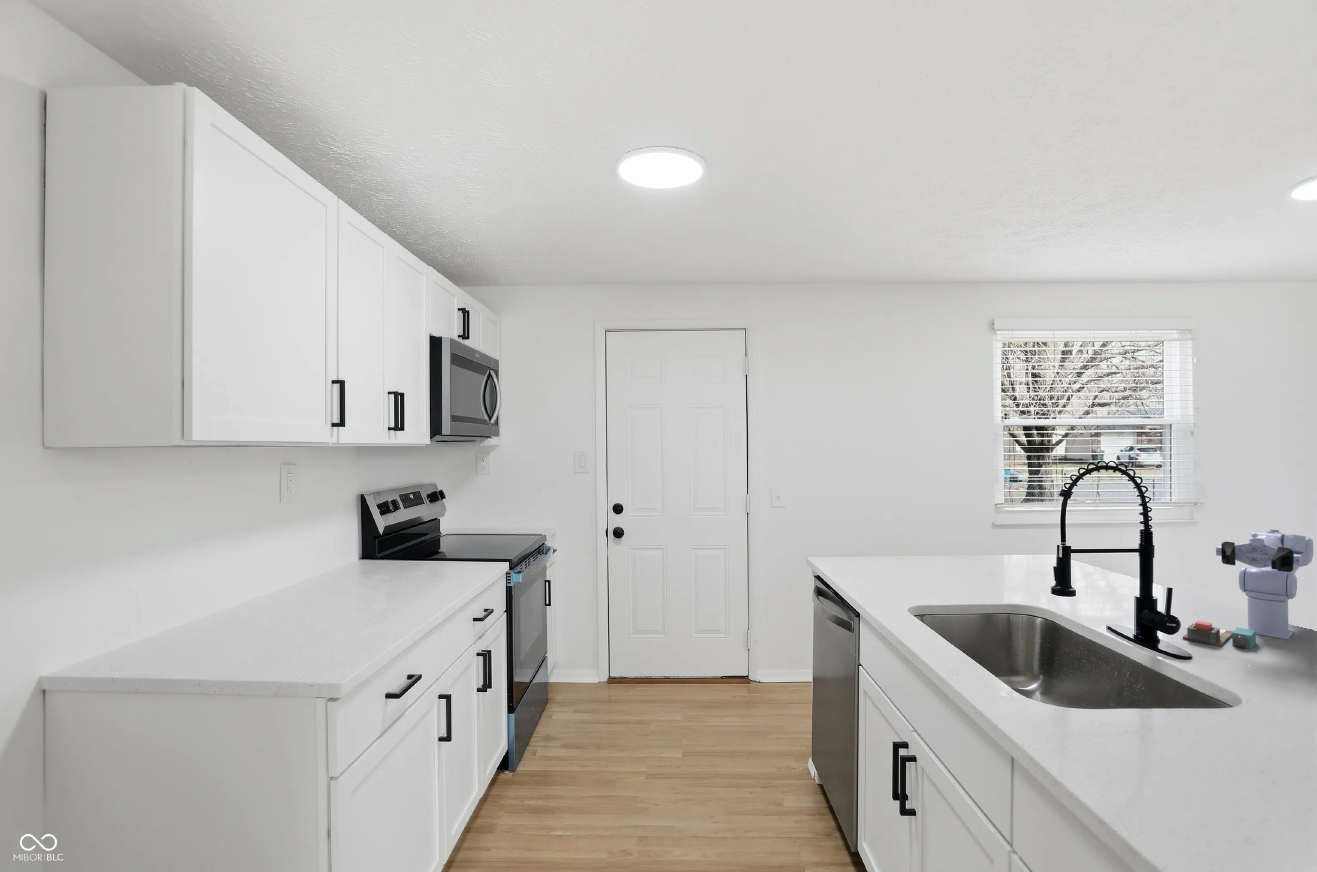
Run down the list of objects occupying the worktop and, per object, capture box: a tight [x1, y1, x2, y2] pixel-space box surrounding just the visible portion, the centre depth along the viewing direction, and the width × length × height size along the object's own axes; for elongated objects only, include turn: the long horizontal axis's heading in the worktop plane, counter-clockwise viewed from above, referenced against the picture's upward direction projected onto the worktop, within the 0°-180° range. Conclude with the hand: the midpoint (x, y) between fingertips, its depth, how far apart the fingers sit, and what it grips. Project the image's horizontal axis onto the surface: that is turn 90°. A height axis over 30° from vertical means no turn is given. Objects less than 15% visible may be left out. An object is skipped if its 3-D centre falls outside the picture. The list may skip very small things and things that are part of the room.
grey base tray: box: [1182, 623, 1234, 647], centre depth 151 cm, size 14×7×3 cm, turn 128°
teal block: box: [1231, 626, 1257, 650], centre depth 145 cm, size 8×3×3 cm, turn 128°
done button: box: [1194, 620, 1213, 631], centre depth 148 cm, size 3×3×2 cm
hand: (1250, 561), depth 142 cm, fingers open, 7 cm apart
